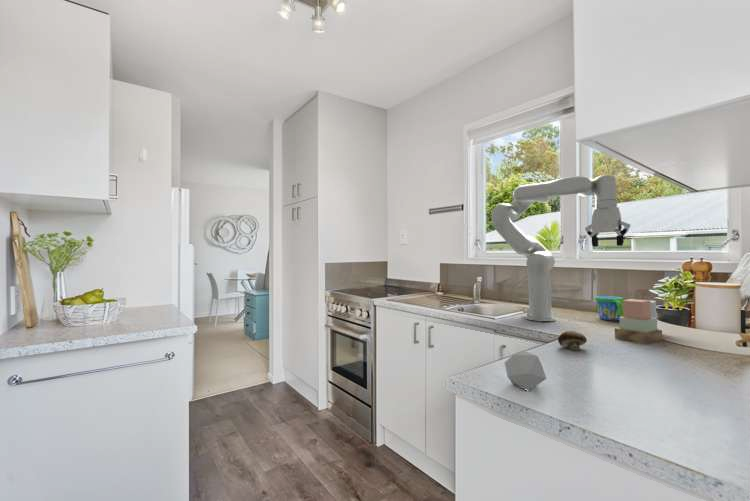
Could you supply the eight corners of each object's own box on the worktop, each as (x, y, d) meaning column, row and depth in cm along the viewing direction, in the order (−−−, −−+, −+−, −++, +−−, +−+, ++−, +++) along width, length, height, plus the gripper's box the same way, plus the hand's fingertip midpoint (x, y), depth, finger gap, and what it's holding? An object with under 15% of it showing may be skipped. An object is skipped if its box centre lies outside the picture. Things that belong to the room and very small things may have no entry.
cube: (623, 317, 123) (622, 300, 123) (631, 315, 127) (630, 298, 127) (643, 319, 118) (642, 302, 118) (650, 317, 122) (650, 300, 122)
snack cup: (632, 322, 151) (631, 299, 151) (606, 322, 152) (605, 299, 152) (612, 316, 166) (612, 295, 166) (589, 316, 168) (588, 295, 168)
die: (555, 395, 77) (547, 353, 83) (535, 383, 73) (528, 339, 79) (520, 399, 82) (516, 359, 88) (500, 388, 78) (496, 347, 84)
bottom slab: (614, 339, 124) (614, 328, 124) (630, 336, 129) (629, 325, 129) (647, 345, 116) (647, 333, 116) (662, 341, 120) (662, 330, 120)
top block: (619, 328, 124) (619, 317, 124) (631, 326, 128) (630, 315, 128) (646, 332, 117) (645, 320, 117) (657, 329, 121) (656, 318, 121)
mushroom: (584, 343, 105) (578, 324, 109) (557, 350, 110) (552, 331, 113) (593, 352, 110) (586, 333, 113) (567, 358, 114) (561, 339, 118)
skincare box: (655, 335, 127) (654, 302, 127) (640, 333, 130) (639, 301, 131) (658, 332, 131) (657, 300, 132) (643, 331, 135) (642, 299, 135)
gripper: (580, 207, 152) (581, 246, 152) (623, 201, 137) (625, 245, 136) (590, 208, 155) (591, 246, 155) (634, 202, 140) (635, 245, 140)
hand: (607, 246), depth 146 cm, fingers open, 9 cm apart
